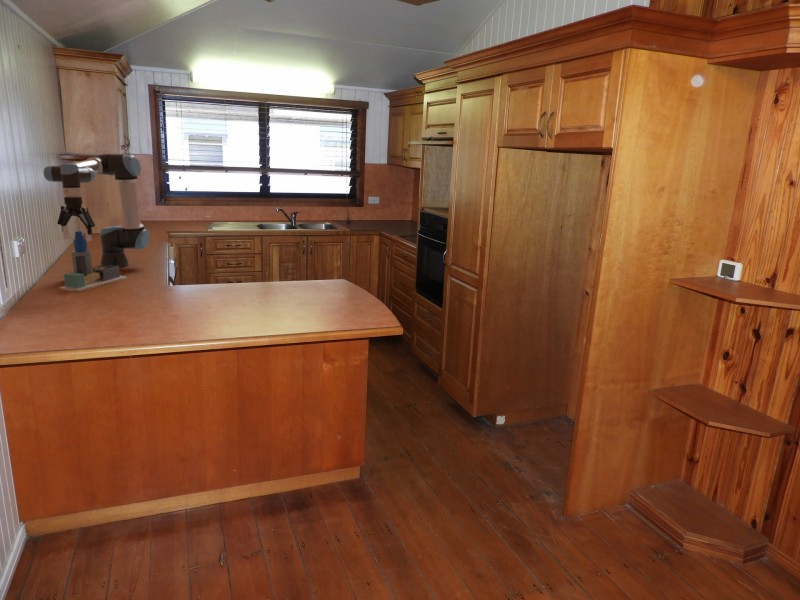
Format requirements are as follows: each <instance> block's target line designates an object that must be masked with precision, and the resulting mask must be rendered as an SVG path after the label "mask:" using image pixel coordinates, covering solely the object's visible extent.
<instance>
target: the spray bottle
mask: <svg viewBox="0 0 800 600" xmlns="http://www.w3.org/2000/svg"><path fill="white" fill-rule="evenodd" d="M87 243H88V242H87V241H86V238H85V235H84V231H83V230H77V231H75V232H74V239H73V248H74V250H72V251H71V258H72V266H73V273H77V267H76V259H75V256H85V260H86V269H87V274H89V273H93V272H94V268H93V262H92V261H93V260H92V252H91V250H90V249H88V244H87Z"/></svg>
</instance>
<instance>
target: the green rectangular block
mask: <svg viewBox="0 0 800 600" xmlns="http://www.w3.org/2000/svg"><path fill="white" fill-rule="evenodd" d="M63 278H64V286H65V287H70V288H82V287H85V281H84V274H80V273H74V272H67V273H64V274H63Z"/></svg>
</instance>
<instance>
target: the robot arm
mask: <svg viewBox="0 0 800 600" xmlns="http://www.w3.org/2000/svg"><path fill="white" fill-rule="evenodd" d="M141 171H142V168H141V163H140V161H139V160H138V158H137V157H136V156H135V155H133V154H127V153H126V154H125V153H123V154H121V153H118V154H117V153H116V154H115V153H104V154H99V155H96V156H90V157H88V158H87V159H86V160H80V161H77V162H69V163H61V164H60V165H48V166H45V167H44V169H43V176H44V179H45V180H46V181H48V182H54V183H62V191H63V196H64V197H63V201H64V205H61V206H60V212H59V216H58V219H57V223H56V224H57V225H59V226H61V232H62V234H63V240H69V239H70V238H71V237H70V231H69V225H68V223H69V221H70V220H71V218H72V217H77V218H78V219H80V221H81V222H82V224H83V225H84V226H85V228H84V231H85V232H84V233H85V239H86V242H87V243H88V242H92V241H93V238H92V236H93V230H92V228H94V227H95V226H96V224H95V222H94V220H93V218H92V216H91V214H90V212H89V209H88V206H87V207H86V206H82V205H83V197H82V188H81V184H85V183H86V184H87V183H91V182H93V181H94V180H95V179H96V176H98V175H103V176H114V180H115V181H116V182H118V187H119V188H118V189H119V193H120V200H121V208H122V215H123V221H124V222H123V223H124V224H123V225H114V226H106V227H102V228H101V229H100V242H101V250H102V251H101V253H102V254H101V259H100V262H99V263H100V266H99V267H101V266H102V267H103V266H107V265H116V266H119V268H122V266H124V267H127V265H128V266H129V264H130V262H129V259H128V257H127V255H126V253H125V249H126V250H127V249H130V250H144V249H146V248H147V246H148V245H149V243H150V239H151V238H150V237H151V236H150V235H151V234H150V232H149V230H148V229H146V228H145V225H144V224H143V223H142V222H141V215H140V207H139V201H138V193H137V185H136V181H137V180H138V177H139V176H140V175H141Z"/></svg>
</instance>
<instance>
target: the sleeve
mask: <svg viewBox="0 0 800 600" xmlns="http://www.w3.org/2000/svg"><path fill="white" fill-rule="evenodd" d="M97 271H102V278H99V279H95V280H100V281H106V280H110V279H113V278H117V277H120V276H121V274H120V273H121V272H120V267H119V266H116V265H107V266H103V267H101V266H99V267H95V268H93V272H97Z"/></svg>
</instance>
